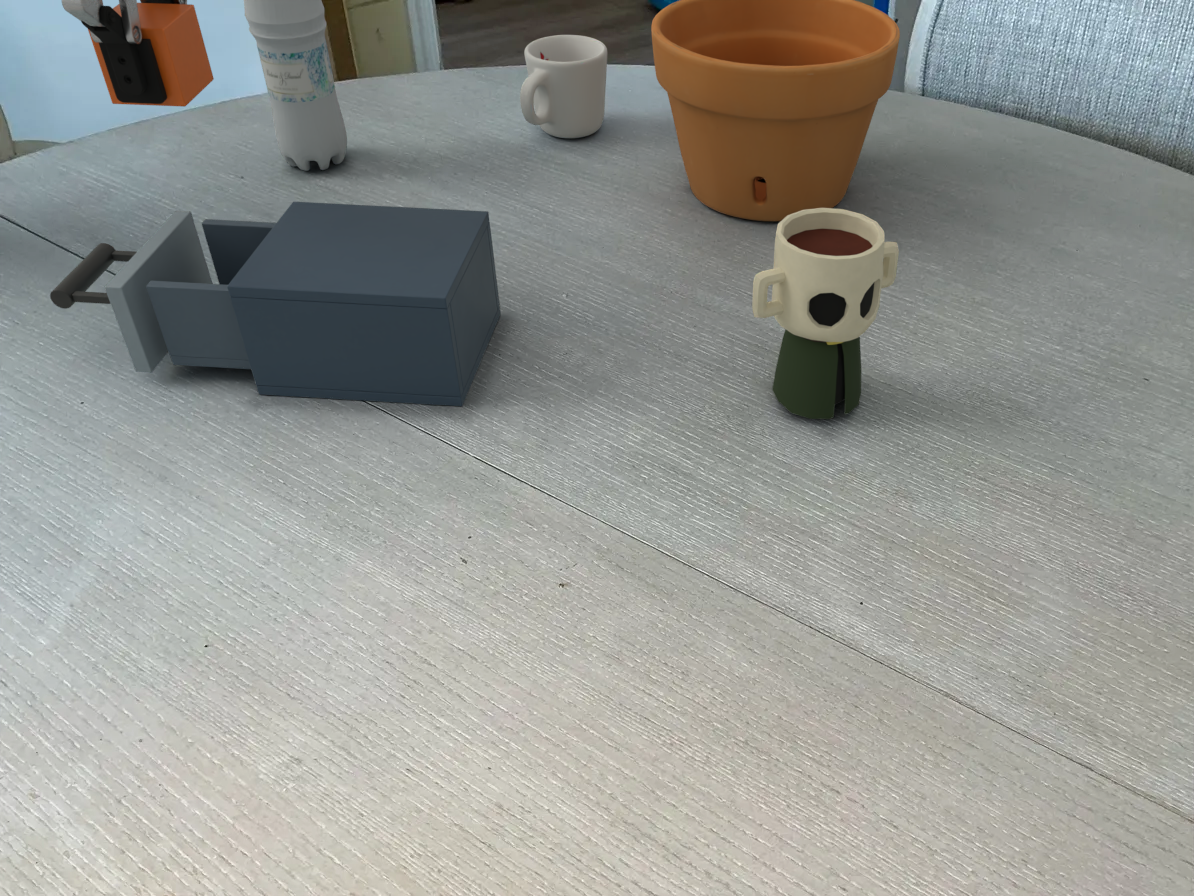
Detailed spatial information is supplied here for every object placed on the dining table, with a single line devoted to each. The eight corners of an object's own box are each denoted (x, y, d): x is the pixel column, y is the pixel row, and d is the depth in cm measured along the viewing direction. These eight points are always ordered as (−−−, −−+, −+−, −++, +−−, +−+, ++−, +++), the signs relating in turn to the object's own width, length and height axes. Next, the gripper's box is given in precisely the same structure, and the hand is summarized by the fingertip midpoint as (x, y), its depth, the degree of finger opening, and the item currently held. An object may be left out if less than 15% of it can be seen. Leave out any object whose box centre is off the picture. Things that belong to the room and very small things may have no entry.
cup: (561, 162, 113) (555, 78, 107) (497, 143, 116) (487, 60, 110) (626, 125, 120) (623, 44, 114) (563, 107, 123) (558, 28, 117)
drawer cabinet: (258, 394, 83) (226, 286, 77) (317, 303, 92) (293, 201, 87) (462, 406, 82) (445, 298, 77) (501, 313, 92) (488, 210, 86)
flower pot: (663, 138, 117) (661, -20, 108) (874, 145, 117) (891, -13, 107) (644, 237, 102) (640, 62, 92) (888, 245, 101) (910, 71, 91)
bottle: (267, 171, 110) (209, -61, 97) (302, 143, 115) (252, -82, 102) (332, 180, 109) (283, -54, 96) (365, 151, 114) (323, -75, 101)
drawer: (56, 367, 83) (20, 282, 79) (129, 287, 92) (100, 206, 87) (322, 383, 83) (301, 297, 78) (370, 300, 91) (354, 219, 87)
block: (112, 104, 78) (86, 26, 75) (144, 76, 82) (121, 1, 79) (185, 107, 78) (163, 29, 75) (214, 79, 82) (194, 4, 79)
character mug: (773, 447, 79) (783, 274, 71) (725, 393, 84) (729, 224, 75) (908, 407, 83) (933, 238, 75) (854, 357, 88) (873, 193, 79)
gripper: (73, -256, 74) (160, 40, 86) (-82, -206, 62) (46, 133, 74) (189, -253, 74) (260, 44, 86) (58, -202, 61) (163, 138, 73)
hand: (160, 82), depth 80 cm, fingers closed on block, 5 cm apart
